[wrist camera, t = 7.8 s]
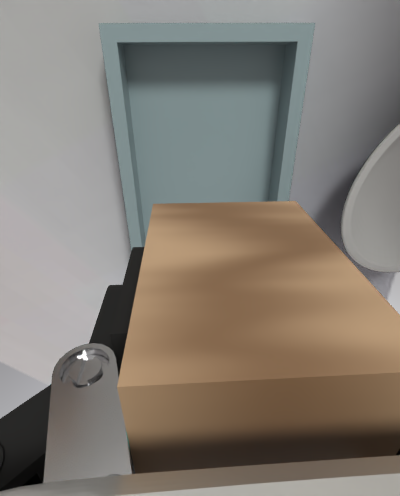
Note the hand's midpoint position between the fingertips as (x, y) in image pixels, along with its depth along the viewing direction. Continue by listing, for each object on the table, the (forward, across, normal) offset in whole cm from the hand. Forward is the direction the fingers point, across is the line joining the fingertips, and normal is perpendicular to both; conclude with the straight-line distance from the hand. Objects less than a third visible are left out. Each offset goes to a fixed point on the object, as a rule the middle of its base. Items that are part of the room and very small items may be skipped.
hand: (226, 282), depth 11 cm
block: (+1, 0, 0) cm, 1 cm away
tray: (+19, -1, +2) cm, 19 cm away
